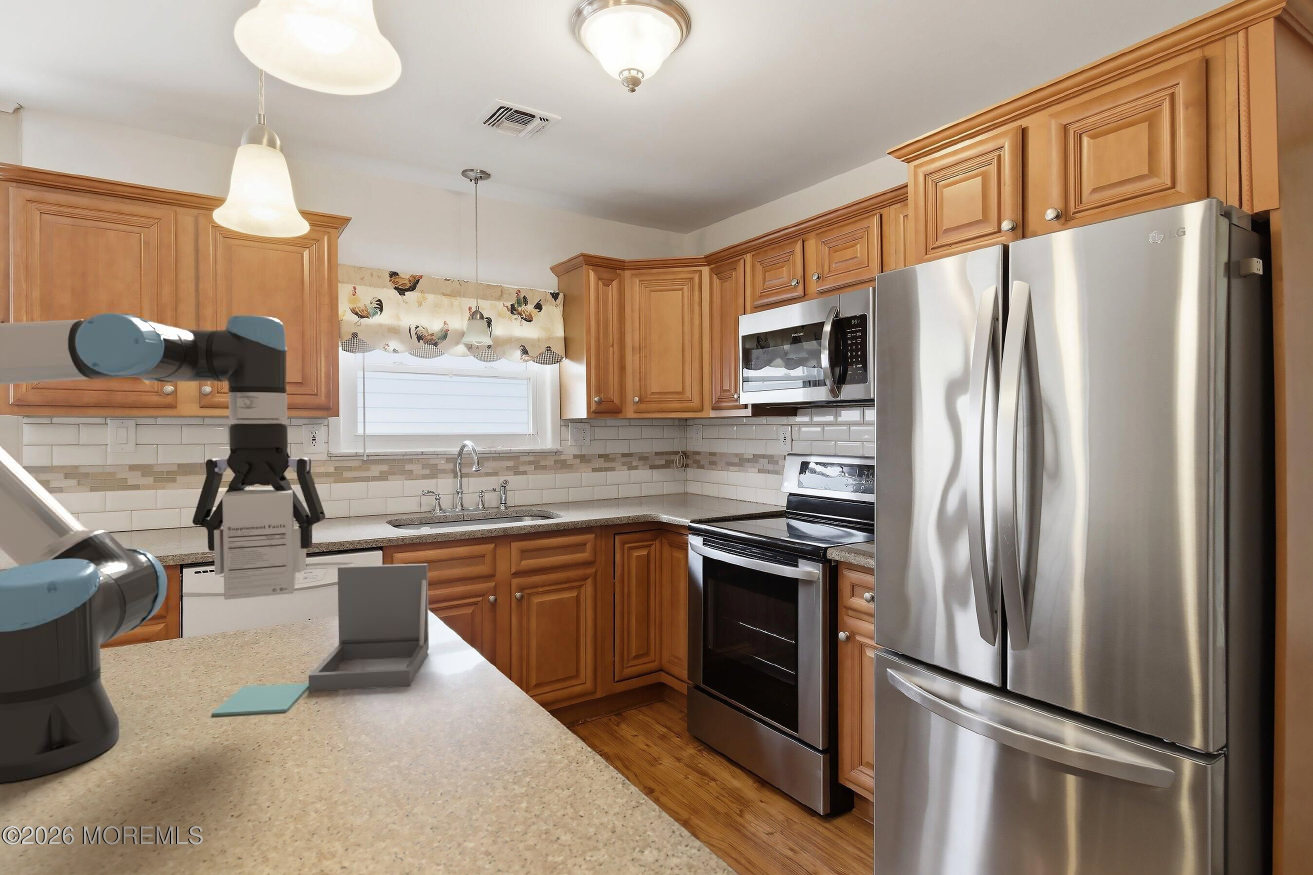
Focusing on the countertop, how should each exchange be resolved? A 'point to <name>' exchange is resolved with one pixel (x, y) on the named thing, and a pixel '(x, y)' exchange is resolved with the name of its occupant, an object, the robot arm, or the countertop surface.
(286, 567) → the supplement box
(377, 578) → the case
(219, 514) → the robot arm
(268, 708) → the mat
